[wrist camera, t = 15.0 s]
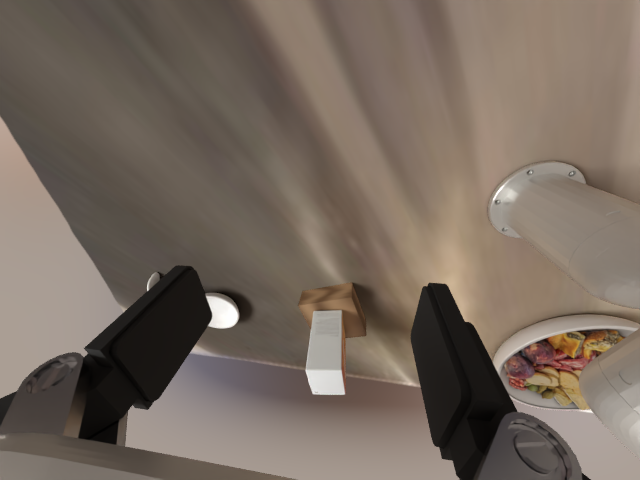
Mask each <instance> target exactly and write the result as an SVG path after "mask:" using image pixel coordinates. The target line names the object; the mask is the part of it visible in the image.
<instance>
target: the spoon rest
mask: <svg viewBox="0 0 640 480" xmlns="http://www.w3.org/2000/svg"><path fill="white" fill-rule="evenodd" d="M159 280H160V275H159V273H157V272H155V273H154V274H153V275H152V276H151V278H150V279H149V281H148V285H147V291H148V290H149V289H150V288H152V287H153V286H154V285H155V284H156V283H157V282H158V281H159ZM205 295H206V298H207V300H208V303H209V306H210V309H211V311H212V320H211V322H210V323H209V325H208V326H210V327H214V328H229V327H232V326H234V325H235V324H236V323H237V322H238V320H239V310H238V307H237V305H236V304H235V302H234V301H233V300H232V299H231V298H229V297H228V296H226V295H223V294H220V293H206V294H205Z"/></svg>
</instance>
